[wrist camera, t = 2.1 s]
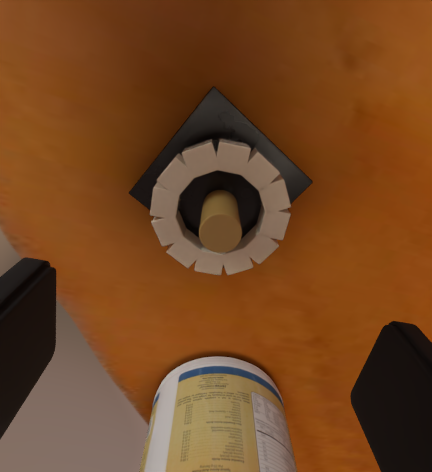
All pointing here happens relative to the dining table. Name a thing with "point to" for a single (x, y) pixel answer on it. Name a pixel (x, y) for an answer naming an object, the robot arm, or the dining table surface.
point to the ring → (233, 161)
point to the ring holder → (220, 176)
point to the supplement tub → (218, 421)
